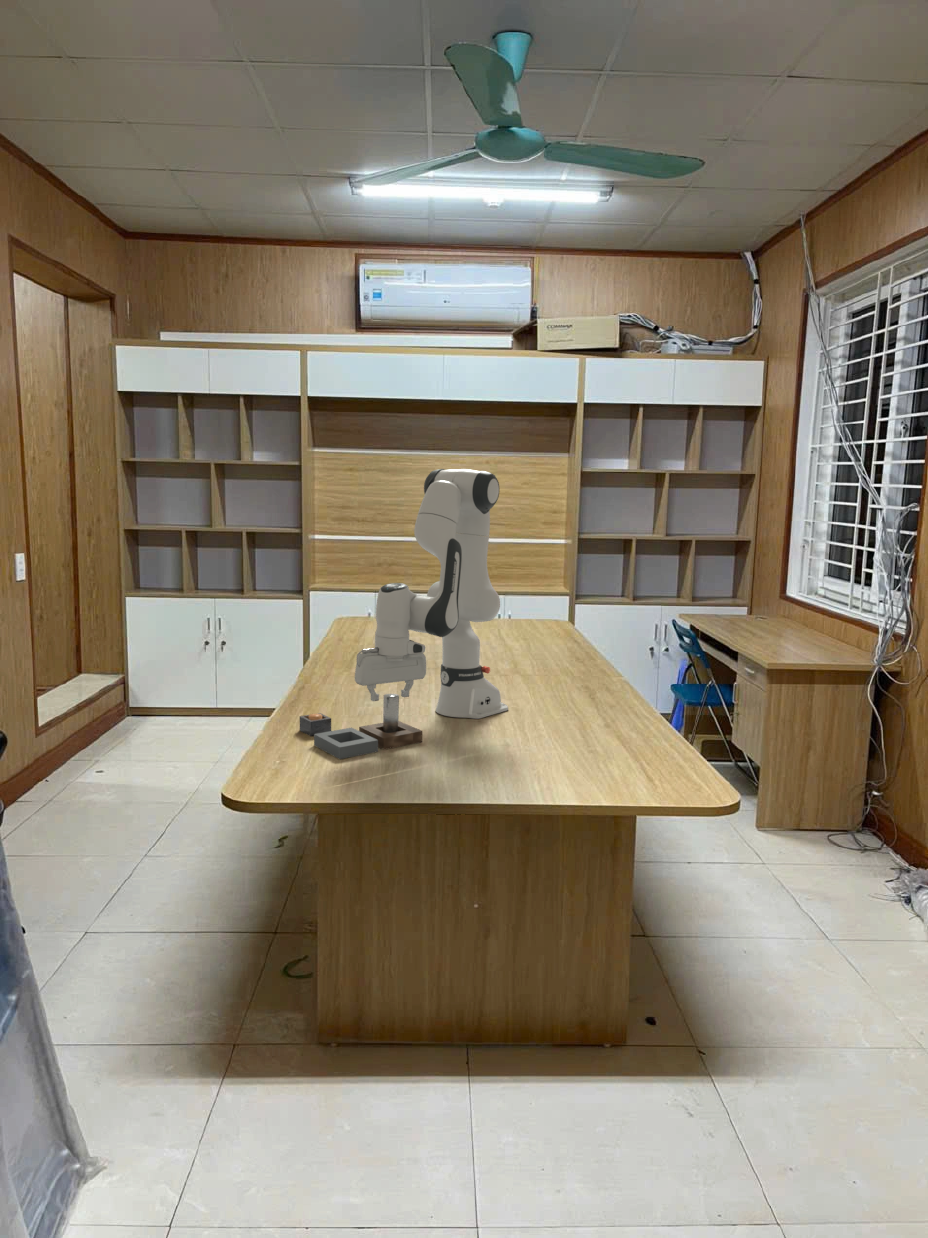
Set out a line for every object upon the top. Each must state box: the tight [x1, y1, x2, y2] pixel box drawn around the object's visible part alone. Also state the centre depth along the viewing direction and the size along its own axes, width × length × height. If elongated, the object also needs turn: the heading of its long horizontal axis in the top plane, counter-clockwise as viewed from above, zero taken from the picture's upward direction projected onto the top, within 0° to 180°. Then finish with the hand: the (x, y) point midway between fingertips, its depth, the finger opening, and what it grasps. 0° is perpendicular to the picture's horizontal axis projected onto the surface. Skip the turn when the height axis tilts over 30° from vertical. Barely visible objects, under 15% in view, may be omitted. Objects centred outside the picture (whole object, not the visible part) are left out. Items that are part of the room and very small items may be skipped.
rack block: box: [313, 727, 379, 760], centre depth 214 cm, size 11×13×3 cm
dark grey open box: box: [299, 712, 332, 737], centre depth 228 cm, size 6×6×4 cm
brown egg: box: [308, 713, 322, 720], centre depth 227 cm, size 4×4×4 cm
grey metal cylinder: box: [382, 693, 400, 733], centre depth 222 cm, size 4×4×12 cm
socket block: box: [358, 720, 424, 750], centre depth 222 cm, size 12×12×3 cm
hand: (390, 698), depth 220 cm, fingers open, 8 cm apart
